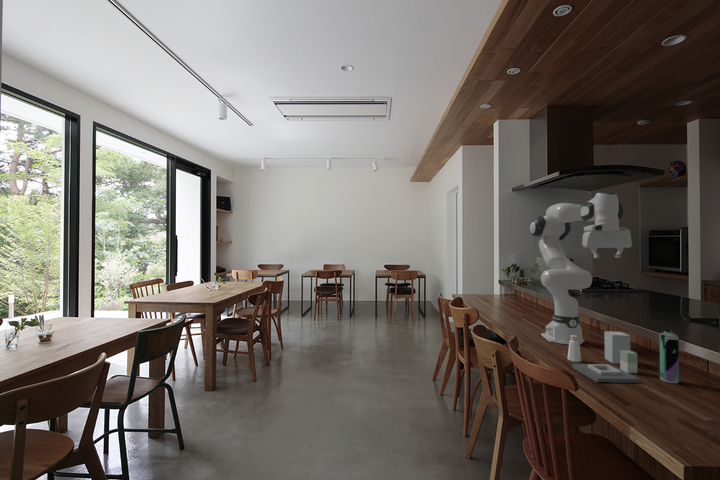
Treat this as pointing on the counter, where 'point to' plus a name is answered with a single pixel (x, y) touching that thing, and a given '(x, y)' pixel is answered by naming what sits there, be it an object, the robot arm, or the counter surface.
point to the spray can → (669, 356)
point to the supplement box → (615, 345)
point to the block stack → (628, 361)
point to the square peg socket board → (605, 373)
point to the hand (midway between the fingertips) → (607, 258)
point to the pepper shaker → (574, 349)
